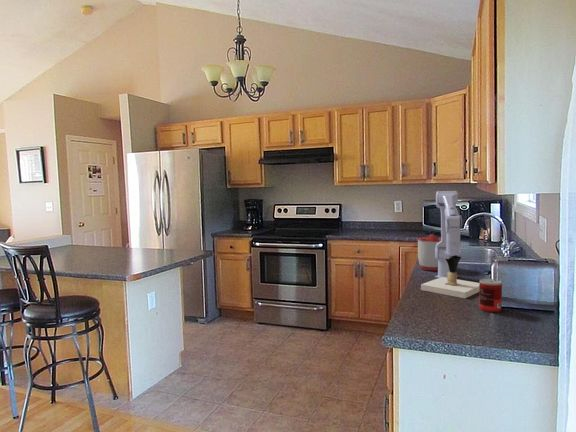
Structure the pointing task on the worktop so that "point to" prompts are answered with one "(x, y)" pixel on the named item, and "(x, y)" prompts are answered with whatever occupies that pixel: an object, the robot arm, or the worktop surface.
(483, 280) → the canned food
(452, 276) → the maple dowel
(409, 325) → the worktop surface
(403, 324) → the worktop surface
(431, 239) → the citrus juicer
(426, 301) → the worktop surface
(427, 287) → the holder board
